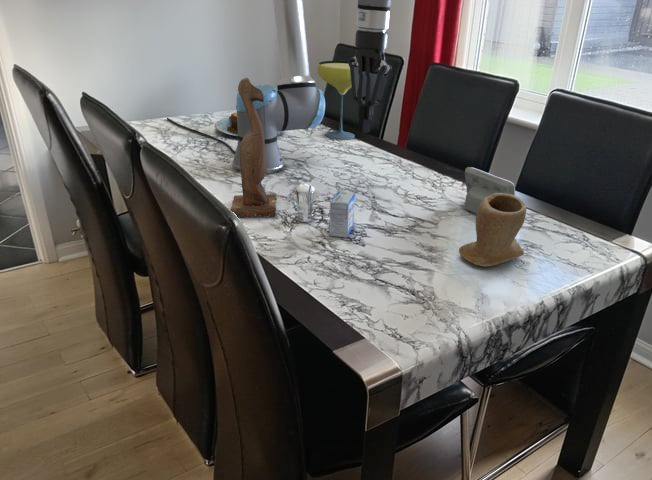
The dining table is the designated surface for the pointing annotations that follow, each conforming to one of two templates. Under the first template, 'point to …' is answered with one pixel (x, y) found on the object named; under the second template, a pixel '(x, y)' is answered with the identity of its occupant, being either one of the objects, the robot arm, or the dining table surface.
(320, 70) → the cocktail glass
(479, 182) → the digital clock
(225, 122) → the food on plate
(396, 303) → the dining table surface
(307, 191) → the milkshake
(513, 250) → the stone cup
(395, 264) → the dining table surface
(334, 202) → the medicine box
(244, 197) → the bird sculpture
